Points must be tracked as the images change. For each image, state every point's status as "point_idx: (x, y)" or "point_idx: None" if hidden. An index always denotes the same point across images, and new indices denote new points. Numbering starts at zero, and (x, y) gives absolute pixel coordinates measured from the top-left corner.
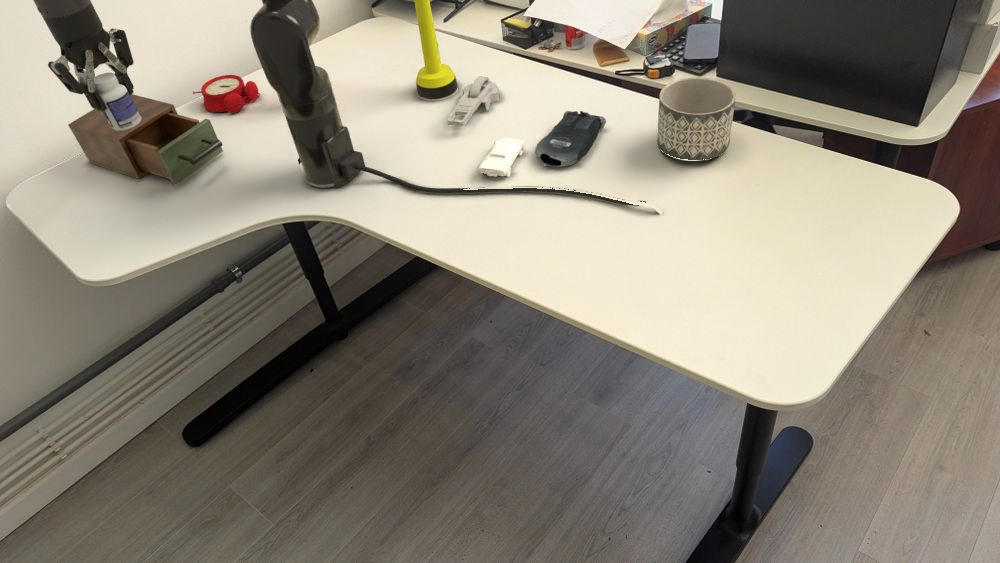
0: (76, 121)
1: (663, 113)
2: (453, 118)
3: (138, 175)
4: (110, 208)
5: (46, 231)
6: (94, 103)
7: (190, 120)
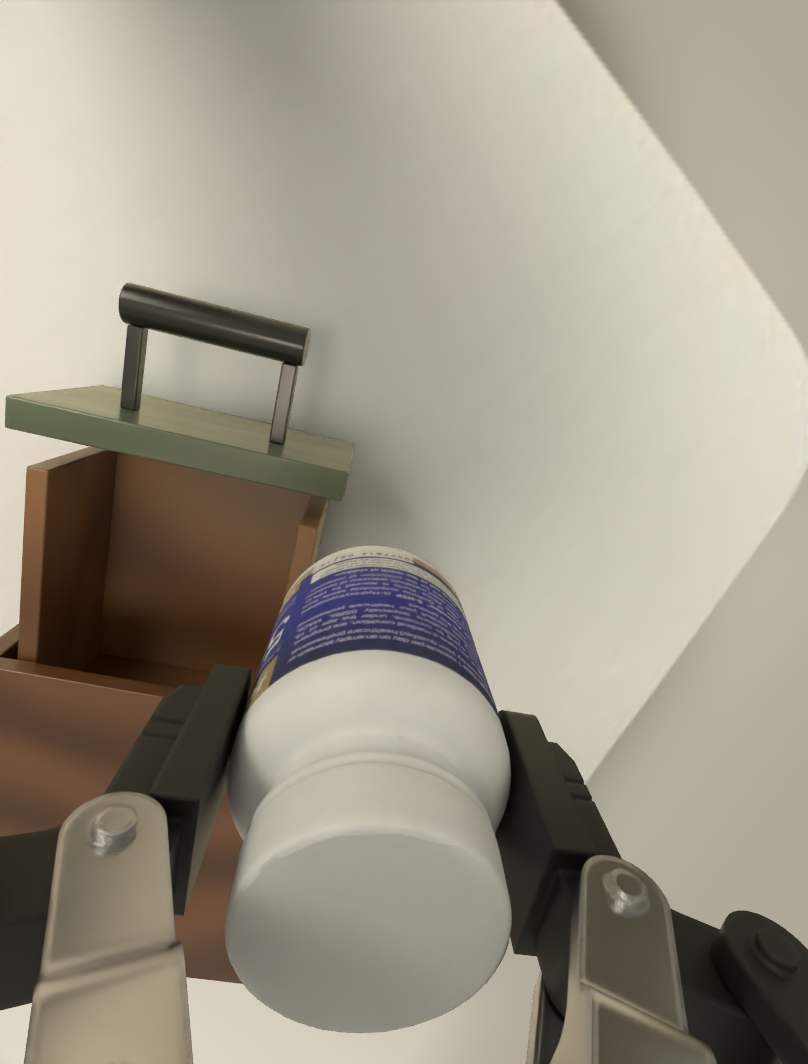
0: (223, 970)
1: None
2: None
3: None
4: (489, 616)
5: (610, 730)
6: (585, 792)
7: (45, 507)
